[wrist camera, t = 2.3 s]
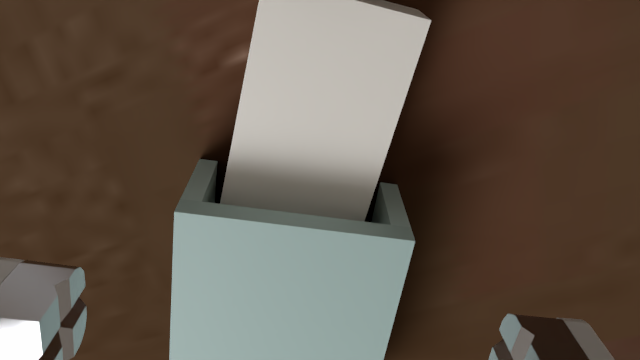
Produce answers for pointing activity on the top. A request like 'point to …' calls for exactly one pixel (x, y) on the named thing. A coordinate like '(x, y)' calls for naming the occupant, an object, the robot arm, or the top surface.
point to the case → (284, 279)
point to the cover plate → (321, 104)
